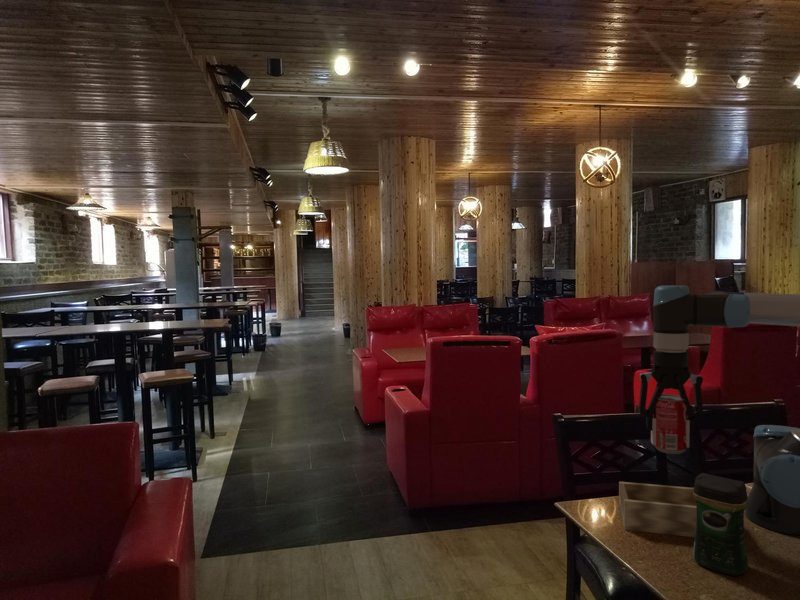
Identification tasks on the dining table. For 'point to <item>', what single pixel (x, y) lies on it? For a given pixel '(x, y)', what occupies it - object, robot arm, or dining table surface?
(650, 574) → the dining table surface
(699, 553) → the coffee jar
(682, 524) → the crate
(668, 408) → the soda can
